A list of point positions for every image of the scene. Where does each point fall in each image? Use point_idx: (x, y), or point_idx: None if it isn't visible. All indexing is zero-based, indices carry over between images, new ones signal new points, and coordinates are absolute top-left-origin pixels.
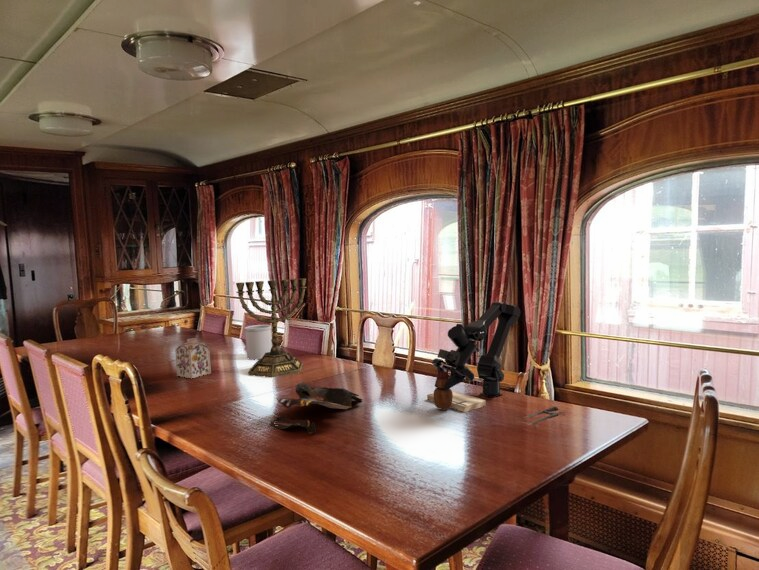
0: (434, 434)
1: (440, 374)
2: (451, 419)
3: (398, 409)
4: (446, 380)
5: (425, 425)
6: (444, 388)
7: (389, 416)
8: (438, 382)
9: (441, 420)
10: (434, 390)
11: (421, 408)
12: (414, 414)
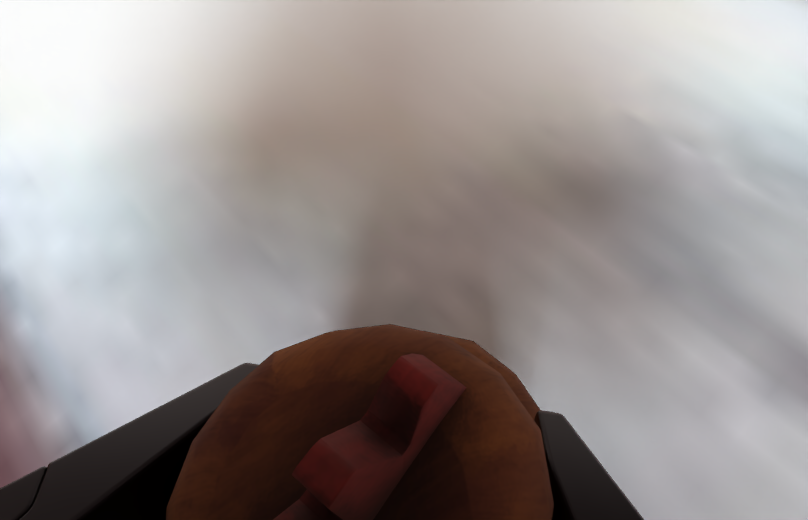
0: (107, 27)
1: (340, 429)
2: (172, 306)
3: (717, 150)
4: (175, 495)
5: (254, 79)
6: (231, 371)
7: (595, 11)
8: (364, 329)
9: (226, 228)
10: (503, 373)
11: (606, 326)
12: (502, 167)
